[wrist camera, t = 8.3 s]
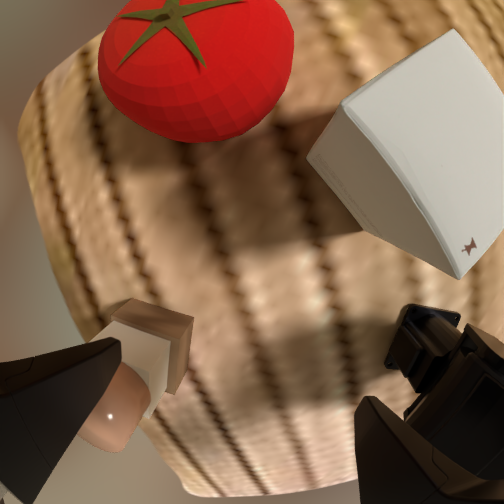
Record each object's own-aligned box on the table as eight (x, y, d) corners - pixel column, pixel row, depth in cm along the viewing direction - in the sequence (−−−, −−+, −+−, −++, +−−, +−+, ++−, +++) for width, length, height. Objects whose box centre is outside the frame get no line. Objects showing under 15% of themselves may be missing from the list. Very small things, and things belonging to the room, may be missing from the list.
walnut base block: (194, 316, 23) (179, 339, 19) (187, 369, 24) (174, 394, 20) (133, 297, 23) (110, 315, 19) (132, 349, 25) (113, 371, 21)
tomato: (253, 174, 20) (226, 157, 9) (122, 123, 20) (33, 96, 9) (312, 52, 17) (332, -33, 7) (180, 17, 17) (131, -51, 7)
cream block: (170, 341, 19) (149, 371, 15) (166, 387, 20) (149, 418, 16) (113, 320, 19) (85, 344, 15) (115, 367, 21) (92, 393, 17)
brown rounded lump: (150, 371, 15) (118, 418, 11) (151, 419, 16) (128, 462, 12) (87, 345, 16) (48, 380, 11) (95, 395, 17) (65, 430, 12)
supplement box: (426, 175, 18) (545, 175, 6) (363, 233, 20) (458, 290, 8) (370, 100, 17) (455, 23, 5) (301, 155, 19) (334, 103, 7)
